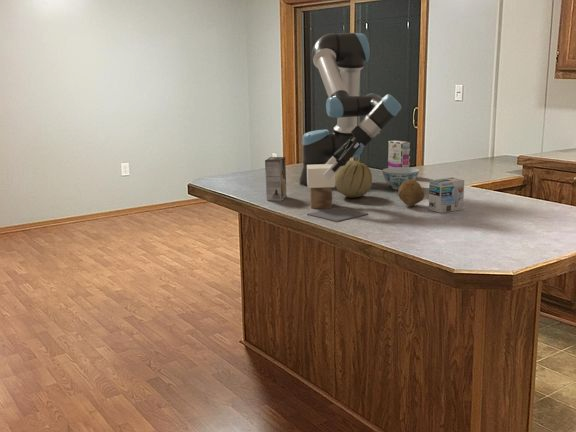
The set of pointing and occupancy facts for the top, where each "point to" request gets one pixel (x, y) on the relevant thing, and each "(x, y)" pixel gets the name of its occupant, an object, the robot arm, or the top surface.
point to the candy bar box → (398, 154)
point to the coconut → (410, 192)
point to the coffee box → (275, 178)
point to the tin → (321, 197)
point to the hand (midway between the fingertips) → (324, 174)
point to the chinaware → (399, 175)
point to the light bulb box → (446, 195)
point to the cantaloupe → (353, 179)
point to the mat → (337, 214)
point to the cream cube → (319, 176)
